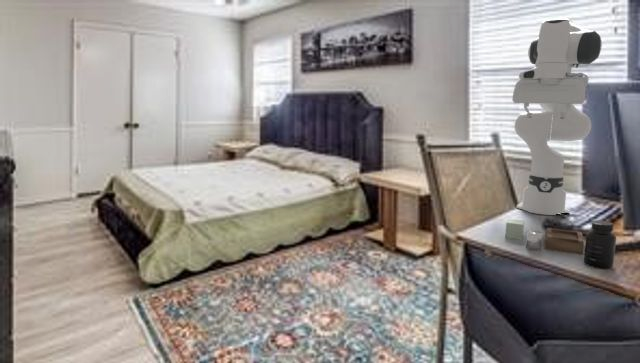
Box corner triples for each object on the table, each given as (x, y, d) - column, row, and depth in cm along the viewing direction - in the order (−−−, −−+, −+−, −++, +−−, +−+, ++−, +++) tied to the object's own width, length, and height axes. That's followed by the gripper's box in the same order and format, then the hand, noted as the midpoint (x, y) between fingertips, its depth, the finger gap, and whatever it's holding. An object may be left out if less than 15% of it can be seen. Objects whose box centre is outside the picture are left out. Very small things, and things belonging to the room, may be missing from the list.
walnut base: (544, 239, 140) (546, 227, 139) (580, 244, 136) (582, 231, 135) (544, 248, 132) (546, 236, 131) (583, 254, 127) (584, 241, 126)
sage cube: (506, 233, 147) (507, 218, 146) (522, 235, 145) (524, 220, 144) (505, 237, 142) (506, 222, 141) (521, 239, 140) (523, 224, 139)
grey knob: (526, 245, 135) (528, 229, 134) (540, 247, 133) (542, 231, 132) (525, 249, 131) (527, 233, 130) (540, 251, 129) (542, 235, 128)
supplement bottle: (590, 258, 124) (596, 217, 122) (617, 266, 119) (623, 223, 116) (578, 263, 121) (583, 221, 118) (604, 271, 115) (611, 228, 113)
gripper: (588, 73, 134) (582, 118, 136) (515, 74, 143) (511, 117, 145) (590, 72, 128) (584, 119, 131) (514, 73, 137) (510, 117, 140)
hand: (545, 118), depth 138 cm, fingers open, 8 cm apart
